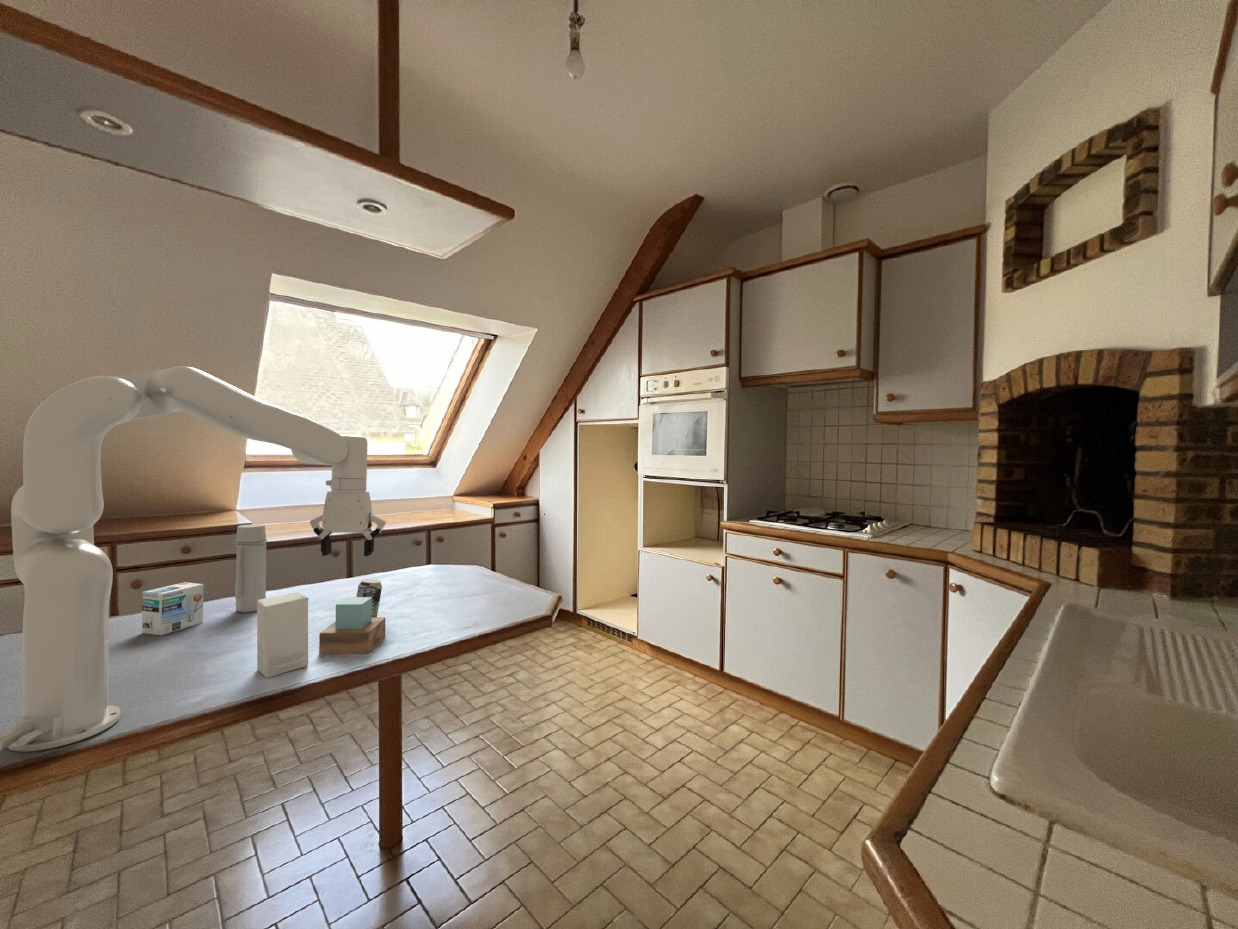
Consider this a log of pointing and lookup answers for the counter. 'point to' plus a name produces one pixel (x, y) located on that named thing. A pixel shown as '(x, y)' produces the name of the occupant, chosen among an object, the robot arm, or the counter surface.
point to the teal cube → (353, 613)
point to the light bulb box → (172, 608)
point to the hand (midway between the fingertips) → (347, 555)
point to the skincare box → (282, 634)
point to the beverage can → (371, 593)
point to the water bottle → (250, 567)
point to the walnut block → (351, 638)
